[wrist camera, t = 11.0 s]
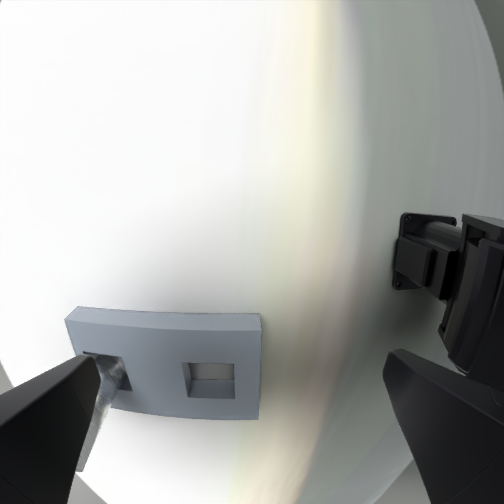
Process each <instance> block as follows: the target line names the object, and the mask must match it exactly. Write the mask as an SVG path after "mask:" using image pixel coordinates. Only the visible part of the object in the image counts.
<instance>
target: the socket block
mask: <svg viewBox="0 0 504 504" xmlns="http://www.w3.org/2000/svg"><path fill="white" fill-rule="evenodd" d="M64 320H65V324H66V327H67V330H68V334H69V337H70V340H71V343H72V346H73V349H74V352H75V354H76V356H78V355H80V354H85V355H90V356H92V357H93V358H94V360H95V359H96V358H97V356H98V355H99V354H105V355H112V356H119V357H122V358H123V361H124V365H125V368H126V371H127V373H126V375H125V377H124V379H123V381H122V383H121V385H120V388H119V390H118V392H117V394H116V396H115V398H114V400H113V402H112V404H111V407H110V408H115V409H120V410H126V411H131V412H138V413H144V414H151V415H159V416H168V417H179V418H191V419H211V420H257V419H258V416H259V392H260V366H261V337H262V329H261V322H260V316H259V314H200V313H165V312H144V311H127V310H113V309H100V308H89V307H79V306H78V307H77V308H75V309H74V310H73V311H72V312H71V313H70V314H69V315H68V316H67V317H66V318H65V319H64ZM189 363H219V364H234V380H206V379H191V373H190V367H189Z"/></svg>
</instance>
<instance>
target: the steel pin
mask: <svg viewBox="0 0 504 504" xmlns="http://www.w3.org/2000/svg"><path fill="white" fill-rule="evenodd" d="M95 363H96V365H97V368H98V371H99V374H100V377H101V384H100V388H99V391H98V395H97V399H96V403H95V408H94V412H93V416H92V420H91V423H90V426H89V429H88V432H87V435H86V438H85V441H84V445H83V448H82V451H81V454H80V457H79V461H78V464H77V468H76V472H82V471H83V469H84V467H85V464H86V462H87V459H88V457H89V454H90V452H91V450H92V447H93V445H94V442H95V440H96V438H97V435H98V433H99V431H100V429H101V426H102V424H103V422H104V420H105V417H106V415H107V413H108V411H109V409H110V407H111V404H112V402H113V400H114V398H115V396H116V394H117V392H118V390H119V388H120V385H121V383H122V381H123V379H124V377H125V375H126V373H127V371H126V368H125V365H124V361H123V358H122V357H119V356H112V355H105V354H99V355H98V356H97V358H96V359H95Z"/></svg>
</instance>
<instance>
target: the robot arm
mask: <svg viewBox="0 0 504 504" xmlns="http://www.w3.org/2000/svg"><path fill="white" fill-rule="evenodd" d="M407 217H409V219H408V221H407V220H406V219H407ZM451 222H452V224H451ZM462 222H463V225H462V228H459V227H456V224H457V221H456V218H454V217H451V216H441V215H431V214H420V213H408V212H406V213H404V214H403V215H402V219H401V229H400V237H399V241H398V249H397V256H396V263H395V272H394V278H393V287H394V288H395V289H396V290H405V289H417V288H423V289H425V290H426V291H428V292H429V293H431V294H432V295H433V296H435V297H436V298H438V299H439V300H440V301H442V302H443V303H445V304H446V305H447V306H446V310H445V313H444V317H443V320H442V323H441V324H440V326H439V329H438V333H439V335H440V337H441V339H442V341H443V343H444V345H445V347H446V349H447V351H448V358H449V360H450V361H451V362H452V363H453V364H454V365H455V366H456V368H457V369H458V370H459V371H461V372H462V373H464V374H465V375H466V377H465V376H463V375H461V374H458V373H456V372H454V371H451V370H449V369H447V368H444V367H442V366H440V365H437V364H435V363H433V362H431V361H428V360H426V359H424V358H421V357H419V356H417V355H415V354H412V353H410V352H408V351H406V350H404V349H397V350H392V351H390V352H389V354H388V357H387V360H386V363H385V366H384V369H383V380H384V382H385V385H386V388H387V391H388V394H389V397H390V400H391V403H392V407H393V410H394V412H395V415H396V418H397V420H398V422H399V425H400V427H401V429H402V431H403V434H404V436H405V438H406V441H407V443H408V445H409V448H410V450H411V453H412V455H413V457H414V460H415V462H416V465H417V467H418V470H419V472H420V475H421V478H422V480H423V483H424V486H425V488H426V491H427V494H428V496H429V499H430V502H431V504H504V220H501V219H497V218H491V217H484V216H477V215H469V214H462ZM398 282H400V283H399V285H397V284H398ZM100 384H101V377H100V374H99V371H98V368H97V365H96V363H95V360H94V358H93V357H92V356H90V355H85V354H80V355H78V356H76V357H74V358H72V359H70V360H68V361H66V362H64V363H62V364H60V365H58V366H56V367H54V368H52V369H50V370H48V371H46V372H44V373H43V374H41V375H39V376H37V377H35V378H33V379H31V380H29V381H27V382H25V383H23V384H21V385H19V386H17V387H15V388H13V389H11V390H9V391H7V392H5V393H3V394H1V395H0V504H67V502H68V498H69V494H70V490H71V486H72V482H73V478H74V475H75V471H76V468H77V464H78V461H79V457H80V454H81V451H82V448H83V445H84V441H85V438H86V435H87V432H88V429H89V426H90V423H91V420H92V416H93V412H94V408H95V403H96V399H97V395H98V391H99V388H100Z"/></svg>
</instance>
